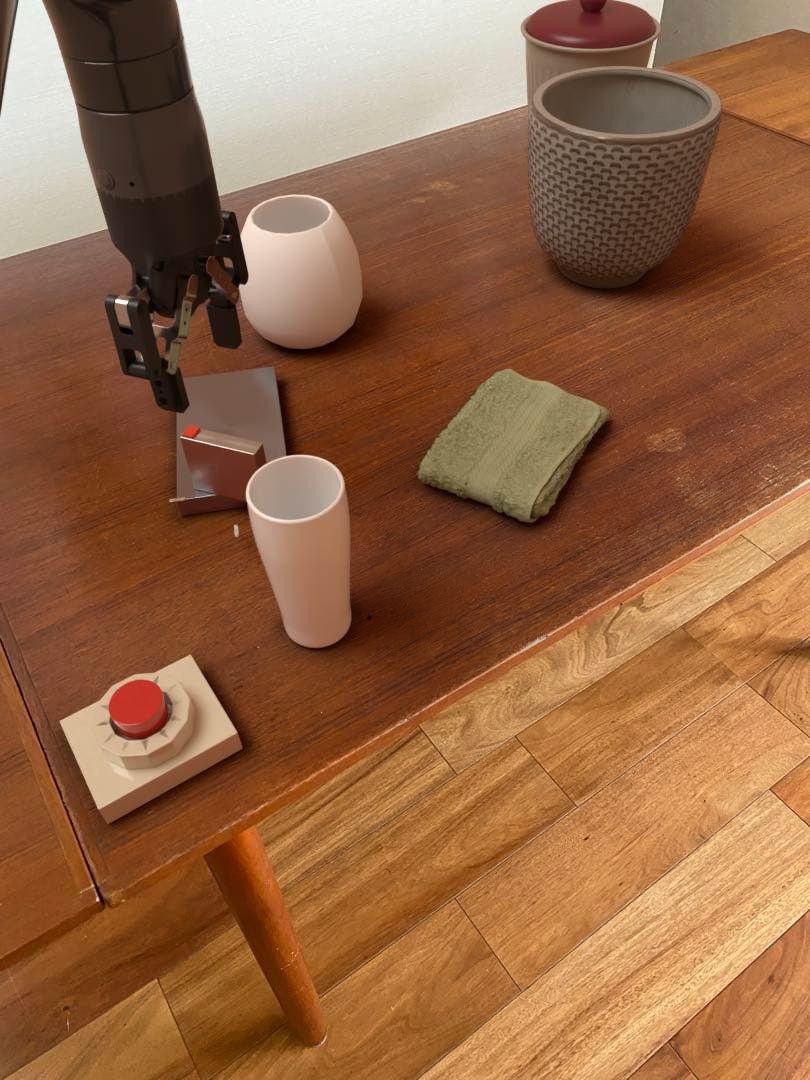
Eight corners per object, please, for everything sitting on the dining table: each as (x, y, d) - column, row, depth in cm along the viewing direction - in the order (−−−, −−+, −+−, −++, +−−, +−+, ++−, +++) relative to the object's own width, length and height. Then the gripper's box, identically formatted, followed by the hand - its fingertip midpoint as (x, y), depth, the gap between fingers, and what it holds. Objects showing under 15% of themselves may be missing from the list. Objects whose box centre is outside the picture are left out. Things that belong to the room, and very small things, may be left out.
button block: (107, 824, 58) (89, 797, 55) (68, 736, 62) (50, 706, 59) (243, 748, 61) (233, 718, 58) (196, 670, 66) (185, 639, 63)
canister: (578, 117, 134) (595, -44, 118) (667, 155, 123) (698, -15, 108) (487, 149, 127) (493, -16, 111) (573, 193, 117) (593, 17, 101)
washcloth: (613, 420, 84) (618, 393, 82) (537, 536, 74) (540, 510, 72) (492, 381, 89) (494, 355, 87) (405, 486, 79) (404, 459, 76)
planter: (495, 240, 109) (503, 78, 95) (640, 216, 112) (668, 55, 98) (555, 325, 96) (574, 151, 82) (716, 294, 99) (762, 122, 85)
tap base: (306, 543, 74) (303, 526, 73) (174, 564, 73) (168, 546, 72) (283, 380, 90) (280, 363, 89) (174, 395, 89) (169, 378, 88)
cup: (310, 284, 103) (296, 172, 93) (389, 324, 97) (383, 209, 87) (223, 332, 97) (198, 217, 87) (302, 379, 90) (285, 261, 80)
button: (126, 748, 57) (119, 735, 56) (107, 709, 59) (100, 695, 58) (177, 721, 59) (171, 707, 57) (156, 684, 61) (150, 670, 59)
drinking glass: (329, 578, 72) (308, 439, 61) (378, 628, 68) (366, 490, 57) (259, 619, 69) (225, 482, 58) (306, 674, 65) (279, 539, 54)
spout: (273, 494, 76) (262, 440, 71) (265, 506, 75) (253, 452, 70) (203, 477, 77) (188, 423, 73) (194, 489, 76) (178, 434, 72)
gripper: (144, 226, 50) (201, 443, 61) (255, 128, 59) (286, 334, 70) (35, 209, 51) (111, 422, 63) (159, 117, 60) (205, 319, 72)
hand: (203, 375), depth 67 cm, fingers open, 8 cm apart
